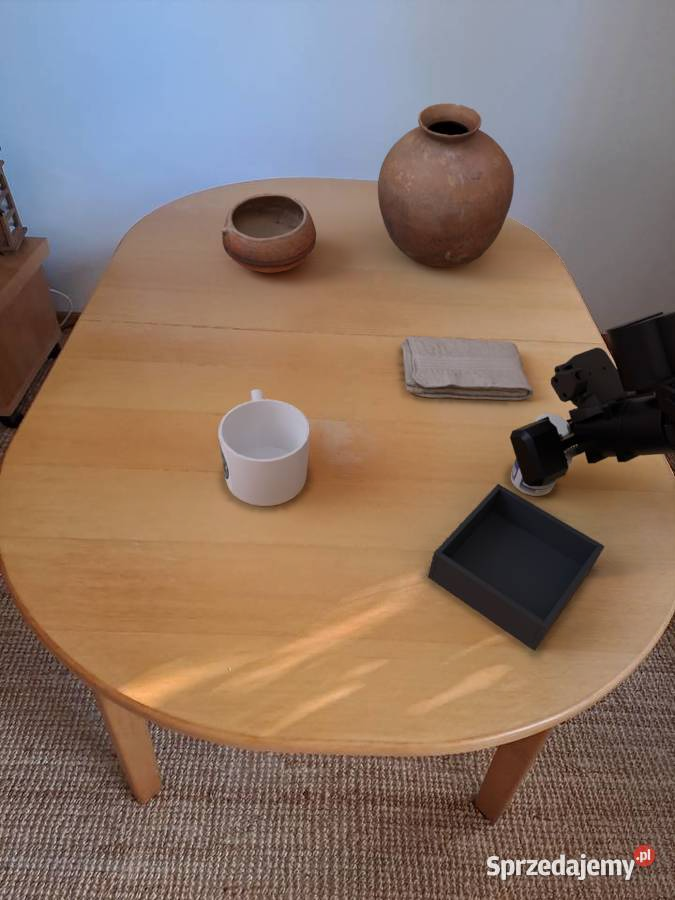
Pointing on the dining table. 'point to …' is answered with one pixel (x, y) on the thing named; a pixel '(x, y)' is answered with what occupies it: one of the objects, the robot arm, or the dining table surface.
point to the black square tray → (515, 564)
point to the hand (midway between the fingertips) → (537, 436)
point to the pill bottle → (516, 473)
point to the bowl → (269, 232)
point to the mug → (264, 450)
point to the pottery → (445, 188)
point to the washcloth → (464, 369)
